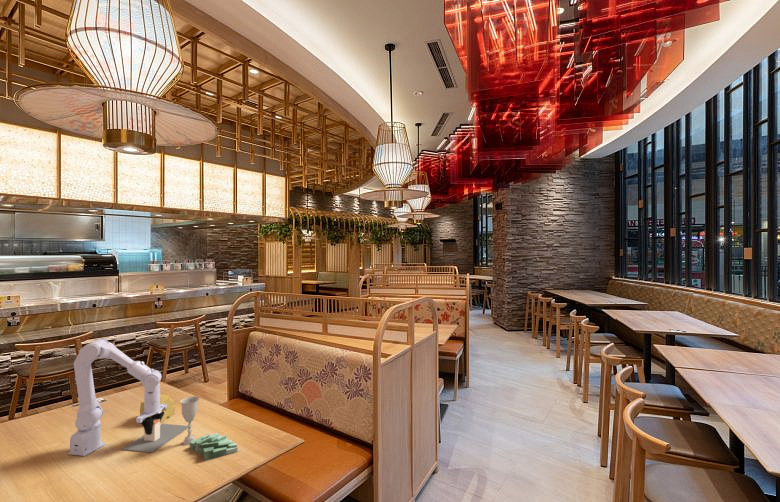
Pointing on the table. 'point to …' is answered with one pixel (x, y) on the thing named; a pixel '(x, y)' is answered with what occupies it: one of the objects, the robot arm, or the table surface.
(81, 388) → the robot arm
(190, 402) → the chalice
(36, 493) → the table surface
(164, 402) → the cheese
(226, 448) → the money
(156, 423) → the cream block
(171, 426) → the slate mat
